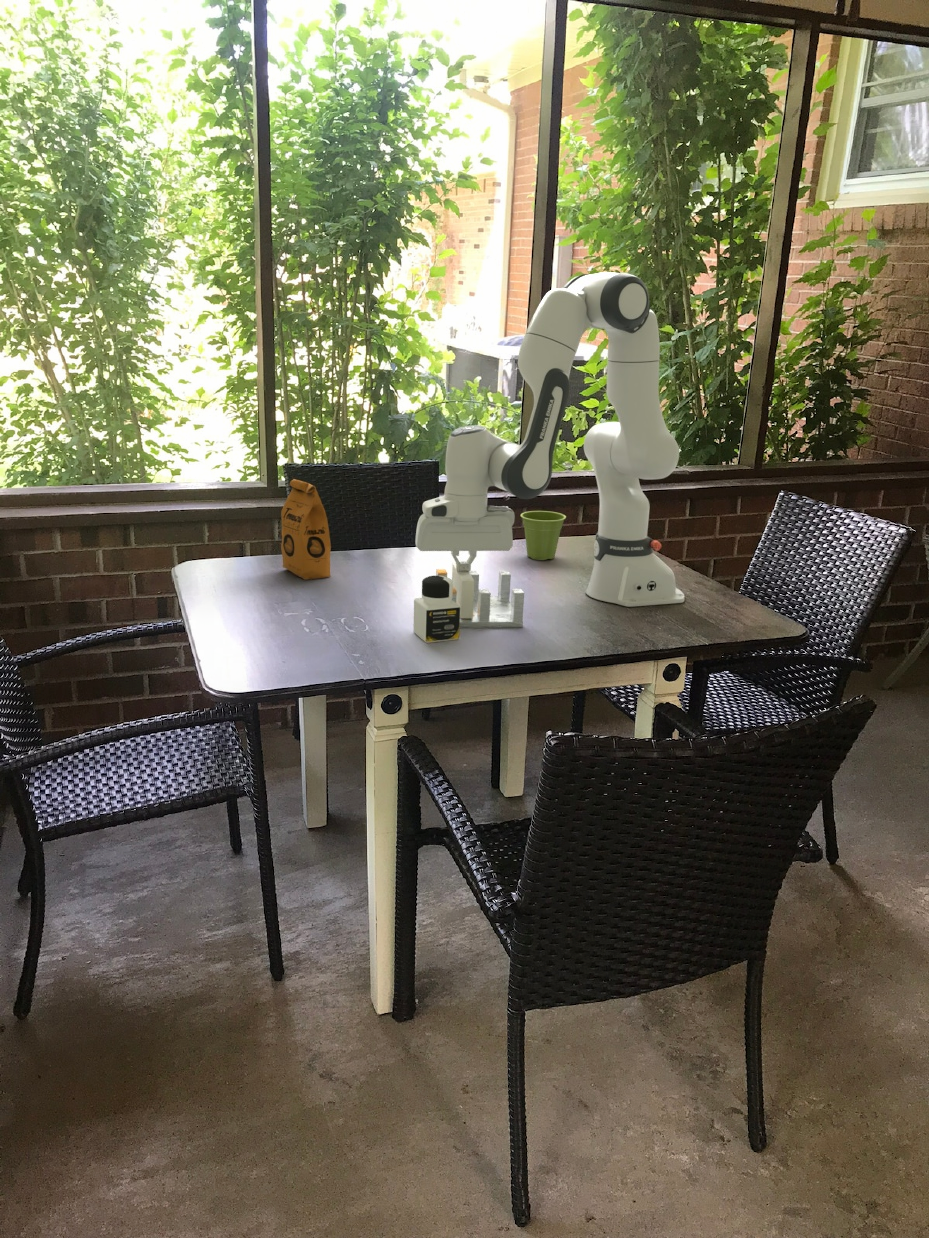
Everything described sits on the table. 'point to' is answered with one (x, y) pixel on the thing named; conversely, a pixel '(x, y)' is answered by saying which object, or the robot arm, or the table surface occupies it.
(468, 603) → the panel
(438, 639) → the medicine bottle
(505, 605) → the panel rack
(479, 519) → the robot arm
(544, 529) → the plant pot
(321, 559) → the coffee package
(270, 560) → the table surface
